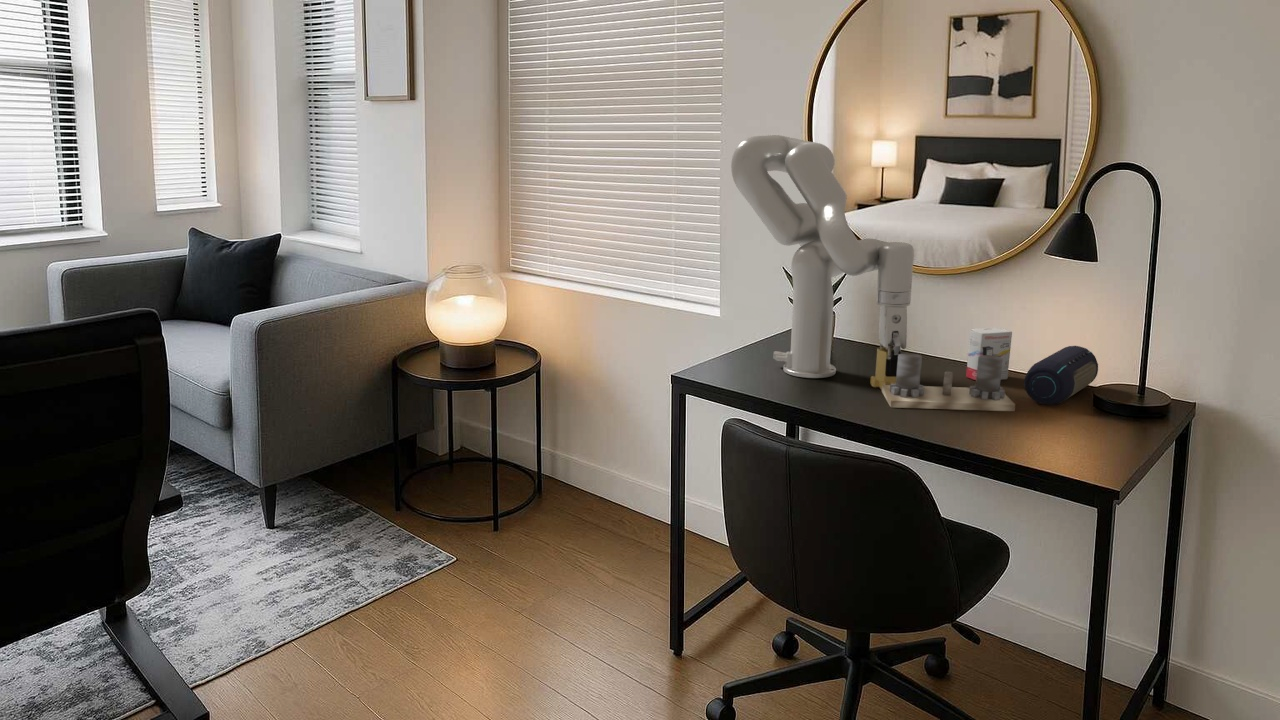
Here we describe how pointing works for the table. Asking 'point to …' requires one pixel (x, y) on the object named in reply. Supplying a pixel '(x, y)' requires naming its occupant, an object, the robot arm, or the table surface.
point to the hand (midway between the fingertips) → (888, 370)
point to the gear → (881, 370)
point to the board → (947, 401)
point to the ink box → (988, 348)
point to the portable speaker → (1061, 375)
